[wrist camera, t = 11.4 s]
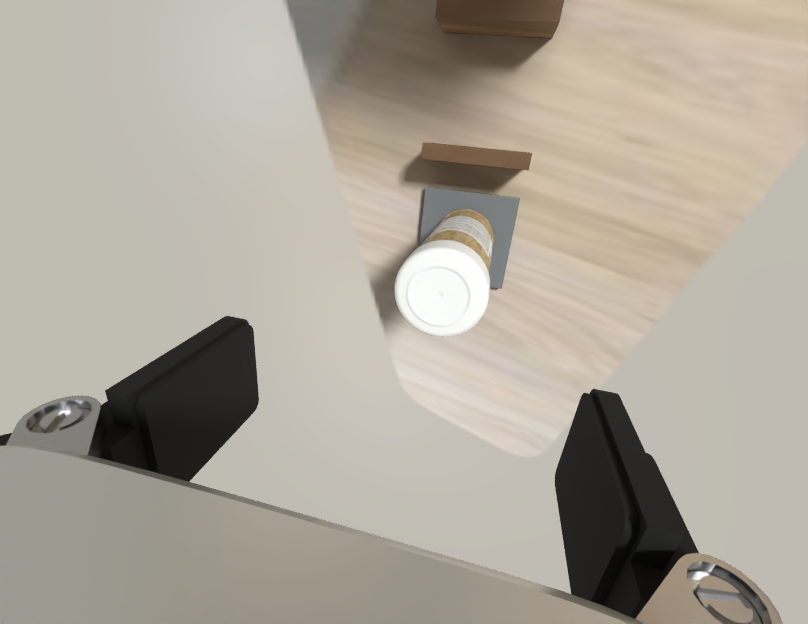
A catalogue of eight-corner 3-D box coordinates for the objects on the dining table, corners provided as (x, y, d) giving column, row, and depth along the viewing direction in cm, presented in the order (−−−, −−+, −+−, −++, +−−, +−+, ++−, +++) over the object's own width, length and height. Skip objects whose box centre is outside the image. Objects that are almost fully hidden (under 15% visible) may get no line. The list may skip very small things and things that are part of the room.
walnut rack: (445, 14, 26) (437, -5, 23) (556, 18, 24) (563, 0, 21) (430, 157, 29) (421, 158, 26) (525, 167, 28) (528, 170, 25)
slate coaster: (426, 186, 30) (425, 187, 30) (519, 197, 29) (519, 198, 28) (417, 272, 33) (415, 275, 32) (501, 286, 32) (501, 288, 31)
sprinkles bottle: (465, 276, 32) (441, 357, 19) (423, 238, 31) (373, 296, 19) (507, 235, 30) (510, 296, 17) (463, 193, 29) (435, 226, 17)
